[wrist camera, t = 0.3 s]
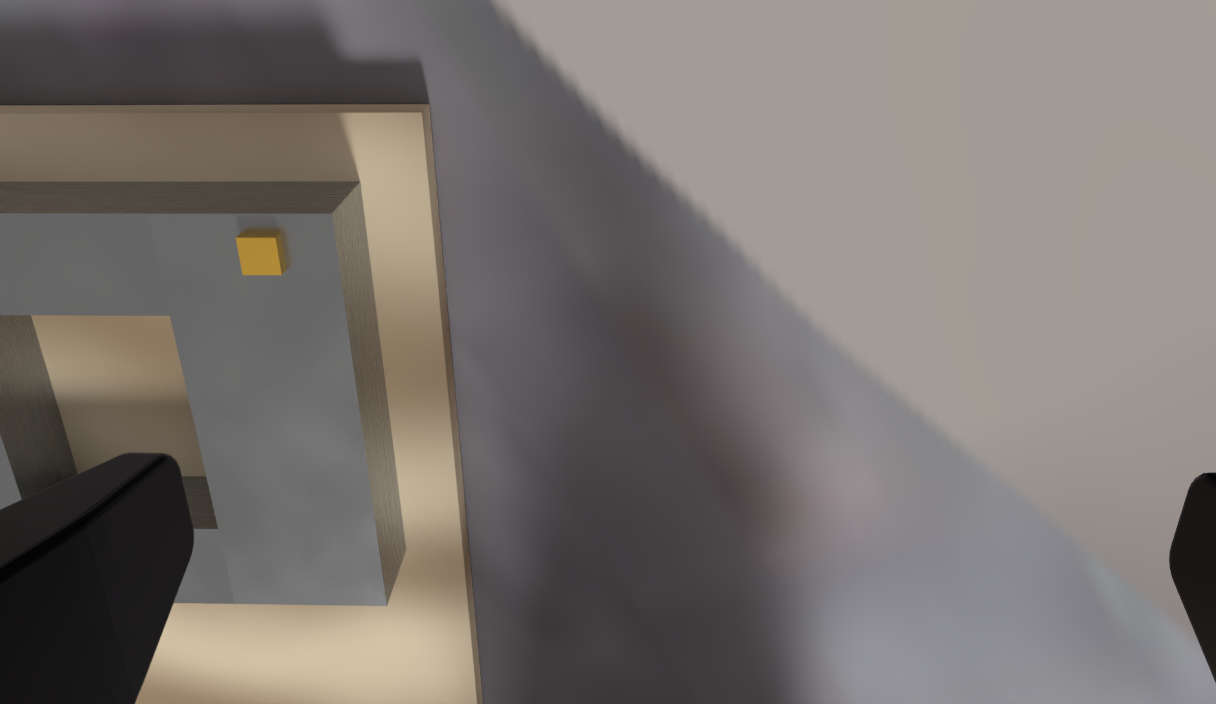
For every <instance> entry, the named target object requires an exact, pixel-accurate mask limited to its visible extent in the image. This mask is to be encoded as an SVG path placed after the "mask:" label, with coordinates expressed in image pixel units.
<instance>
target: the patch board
mask: <svg viewBox="0 0 1216 704" xmlns="http://www.w3.org/2000/svg"><path fill="white" fill-rule="evenodd" d="M231 181H360V184H361V192H362V200H363V208H364V216H365V223H366V231H367V239H368V247H369V255H370V263H371V271H372V279H373V287H374V295H375V303H376V311H377V319H378V327H379V335H380V343H381V351H382V359H383V367H384V375H385V383H386V391H387V399H388V407H389V415H390V423H391V431H392V439H393V447H394V455H395V463H396V471H397V479H398V487H399V495H400V503H401V511H402V519H403V527H404V535H405V543H406V552H405V555H404V558H403V561H402V564H401V567H400V570H399V573H398V576H397V578H396V581H395V584H394V587H393V590H392V593H391V596H390V599H389V602H388V605H387V606H341V605H271V604H202V603H174V604H173V606H172V609H171V612H170V614H169V617H168V620H167V622H166V625H165V628H164V630H163V633H162V635H161V638H160V641H159V643H158V646H157V649H156V651H155V654H154V657H153V659H152V662H151V665H150V667H149V670H148V673H147V675H146V678H145V680H144V683H143V685H142V688H141V690H140V692H139V695H138V697H137V700H136V702H135V704H483V696H482V685H481V674H480V663H479V652H478V641H477V630H476V618H475V607H474V596H473V585H472V574H471V563H470V552H469V541H468V530H467V518H466V507H465V496H464V485H463V474H462V463H461V452H460V441H459V430H458V418H457V407H456V396H455V385H454V374H453V363H452V352H451V341H450V330H449V318H448V307H447V296H446V285H445V274H444V263H443V252H442V241H441V230H440V218H439V207H438V196H437V185H436V174H435V163H434V152H433V141H432V130H431V118H430V107H429V104H316V105H0V182H231ZM31 317H32V320H33V324H34V327H35V330H36V334H37V337H38V340H39V344H40V347H41V351H42V354H43V357H44V361H45V364H46V367H47V371H48V374H49V378H50V381H51V384H52V388H53V391H54V395H55V398H56V401H57V405H58V408H59V411H60V415H61V418H62V422H63V425H64V428H65V432H66V435H67V438H68V442H69V445H70V449H71V452H72V455H73V459H74V462H75V466H76V469H77V472H78V474H79V473H81V472H84V471H86V470H88V469H90V468H92V467H95V466H97V465H99V464H101V463H103V462H106V461H108V460H110V459H112V458H114V457H117V456H119V455H121V454H124V453H130V452H137V453H166V454H169V455H171V456H172V457H173V458H175V459H176V461H177V463H178V464H179V467H180V470H181V474H182V476H206V473H205V469H204V464H203V460H202V455H201V451H200V447H199V442H198V438H197V434H196V429H195V425H194V420H193V416H192V412H191V407H190V403H189V398H188V394H187V390H186V385H185V381H184V376H183V372H182V368H181V363H180V359H179V354H178V350H177V346H176V341H175V337H174V332H173V328H172V324H171V319H170V316H73V315H31Z"/></svg>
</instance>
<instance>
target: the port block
mask: <svg viewBox="0 0 1216 704" xmlns="http://www.w3.org/2000/svg"><path fill="white" fill-rule="evenodd" d="M31 315H73V316H170V319H171V324H172V328H173V332H174V337H175V341H176V346H177V350H178V354H179V359H180V363H181V368H182V372H183V376H184V381H185V385H186V390H187V394H188V398H189V403H190V407H191V412H192V416H193V420H194V425H195V429H196V434H197V438H198V442H199V447H200V451H201V455H202V460H203V464H204V469H205V473H206V476H182V478H183V483H184V487H185V492H186V496H187V501H188V505H189V510H190V514H191V519H192V523H193V529H194V546H193V551H192V555H191V558H190V561H189V564H188V566H187V569H186V572H185V574H184V577H183V580H182V582H181V585H180V588H179V590H178V593H177V596H176V598H175V601H174V603H202V604H271V605H341V606H387V605H388V602H389V599H390V596H391V593H392V590H393V587H394V584H395V581H396V578H397V576H398V573H399V570H400V567H401V564H402V561H403V558H404V555H405V552H406V543H405V535H404V527H403V519H402V511H401V503H400V495H399V487H398V479H397V471H396V463H395V455H394V447H393V439H392V431H391V423H390V415H389V407H388V399H387V391H386V383H385V375H384V367H383V359H382V351H381V343H380V335H379V327H378V319H377V311H376V303H375V295H374V287H373V279H372V271H371V263H370V255H369V247H368V239H367V231H366V223H365V216H364V208H363V200H362V192H361V184H360V181H231V182H0V509H2V508H4V507H7V506H9V505H11V504H13V503H15V502H18V501H20V500H22V499H24V498H26V497H29V496H31V495H33V494H35V493H37V492H40V491H42V490H44V489H46V488H48V487H51V486H53V485H55V484H57V483H59V482H62V481H64V480H66V479H68V478H70V477H73V476H75V475H77V474H78V472H77V469H76V466H75V462H74V459H73V455H72V452H71V449H70V445H69V442H68V438H67V435H66V432H65V428H64V425H63V422H62V418H61V415H60V411H59V408H58V405H57V401H56V398H55V395H54V391H53V388H52V384H51V381H50V378H49V374H48V371H47V367H46V364H45V361H44V357H43V354H42V351H41V347H40V344H39V340H38V337H37V334H36V330H35V327H34V324H33V320H32V317H31Z"/></svg>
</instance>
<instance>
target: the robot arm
mask: <svg viewBox="0 0 1216 704" xmlns="http://www.w3.org/2000/svg"><path fill="white" fill-rule="evenodd" d="M193 546H194V529H193V523H192V519H191V514H190V510H189V505H188V501H187V496H186V492H185V487H184V483H183V478H182V474H181V470H180V467H179V464H178V463H177V461H176V459H175V458H173V457H172V456H171V455H169V454H166V453H137V452H130V453H124V454H121V455H119V456H117V457H114V458H112V459H110V460H108V461H106V462H103V463H101V464H99V465H97V466H95V467H92V468H90V469H88V470H86V471H84V472H81V473H79V474H77V475H75V476H73V477H70V478H68V479H66V480H64V481H62V482H59V483H57V484H55V485H53V486H51V487H48V488H46V489H44V490H42V491H40V492H37V493H35V494H33V495H31V496H29V497H26V498H24V499H22V500H20V501H18V502H15V503H13V504H11V505H9V506H7V507H4V508H2V509H0V704H135V702H136V700H137V697H138V695H139V692H140V690H141V688H142V685H143V683H144V680H145V678H146V675H147V673H148V670H149V667H150V665H151V662H152V659H153V657H154V654H155V651H156V649H157V646H158V643H159V641H160V638H161V635H162V633H163V630H164V628H165V625H166V622H167V620H168V617H169V614H170V612H171V609H172V606H173V604H174V601H175V598H176V596H177V593H178V590H179V588H180V585H181V582H182V580H183V577H184V574H185V572H186V569H187V566H188V564H189V561H190V558H191V555H192V551H193ZM1169 563H1170V570H1171V575H1172V578H1173V581H1174V583H1175V586H1176V588H1177V591H1178V593H1179V595H1180V598H1181V600H1182V603H1183V605H1184V608H1185V610H1186V612H1187V615H1188V617H1189V620H1190V622H1191V624H1192V627H1193V629H1194V632H1195V634H1196V636H1197V639H1198V641H1199V644H1200V646H1201V648H1202V651H1203V653H1204V656H1205V658H1206V661H1207V663H1208V665H1209V668H1210V670H1211V673H1212V675H1213V677H1214V680H1215V682H1216V473H1203V474H1201V475H1200V476H1198V477H1197V478H1195V479H1194V481H1193V482H1192V483H1191V485H1190V487H1189V490H1188V493H1187V496H1186V499H1185V502H1184V506H1183V509H1182V512H1181V515H1180V519H1179V522H1178V525H1177V528H1176V532H1175V535H1174V538H1173V541H1172V545H1171V549H1170V557H1169Z"/></svg>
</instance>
